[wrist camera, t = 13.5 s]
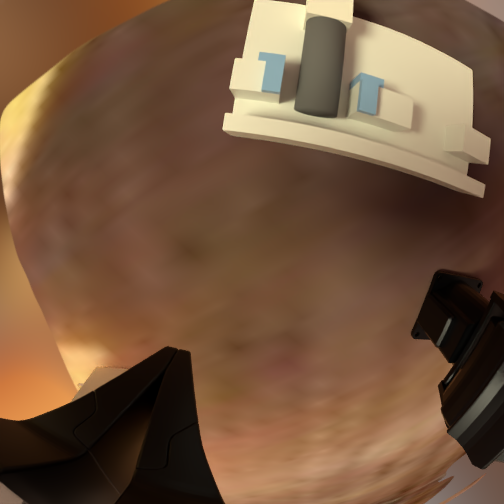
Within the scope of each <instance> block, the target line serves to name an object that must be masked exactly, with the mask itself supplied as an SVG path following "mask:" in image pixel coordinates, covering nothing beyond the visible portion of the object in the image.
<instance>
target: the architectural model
mask: <svg viewBox="0 0 504 504" xmlns="http://www.w3.org/2000/svg"><path fill="white" fill-rule="evenodd" d="M127 370H128V369H122V368H107V367H96V368H95V370H94V371H93V372H92V374H91V375H90V376H89V378H88V379H87V380H86V382H85V383H84V384H80V383H79V384H78V387H79V388H80V390H79V391H78V393H77V394H76V395H75V397H74V398H73V400H72V401H71V402H73V401H75V400H76V399H78V398H80V397H82V396H84V395H86V394H88V393H89V392H91V391H94V390H95V389H96V388H98V387H100V386H102V385H103V384H105V383H107V382H108V381H110V380H112V379H113V378H115V377H117V376H118V375H120V374H122V373H123V372H125V371H127ZM94 392H95V391H94Z"/></svg>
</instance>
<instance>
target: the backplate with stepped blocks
mask: <svg viewBox="0 0 504 504" xmlns="http://www.w3.org/2000/svg"><path fill="white" fill-rule="evenodd" d="M305 10H306V5H300V4H294V3H287V2H279V1H270V0H254V5H253V9H252V14H251V19H250V23H249V28H248V33H247V38H246V43H245V48H244V53H243V58H242V59H240V58H235V61H234V67H233V72H232V77H231V83H230V88H229V89H230V90H231V92H232V94H233V95H234V97H235V102H234V108H233V114H231V113H225V117H224V123H223V131H225V132H226V133H228V134H229V135H231V136H237V137H245V138H252V139H259V140H266V141H272V142H278V143H284V144H290V145H295V146H301V147H306V148H311V149H316V150H320V151H325V152H329V153H334V154H338V155H342V156H347V157H351V158H355V159H358V160H362V161H366V162H370V163H373V164H377V165H381V166H384V167H387V168H391V169H394V170H397V171H401V172H404V173H407V174H410V175H413V176H416V177H419V178H422V179H425V180H428V181H431V182H433V183H436V184H439V185H442V186H444V187H447V188H449V189H452V190H455V191H457V192H461V193H465V194H469V195H473V196H477V197H480V198H483V196H484V190H485V184H483V183H481V182H479V181H477V180H475V179H473V178H470V177H468V176H467V172H468V164H469V163H477V164H486V165H488V163H489V153H490V141H491V139H490V138H489V137H487V136H485V135H484V134H482V133H480V132H479V131H477V130H475V129H473V128H472V121H473V74H472V69H470V68H468V67H467V66H465V65H463V64H462V63H460V62H458V61H457V60H455V59H453V58H451V57H450V56H448V55H446V54H444V53H442V52H440V51H438V50H436V49H434V48H433V47H430V46H428V45H426V44H424V43H422V42H420V41H418V40H416V39H413V38H411V37H409V36H406V35H404V34H402V33H399V32H397V31H394V30H392V29H389V28H386V27H384V26H381V25H378V24H375V23H372V22H369V21H366V20H363V19H360V18H356V17H353V20H352V25H351V26H350V28H349V30H348V31H347V33H346V42H345V53H344V63H343V73H342V82H341V90H340V99H339V106H338V114H337V117H336V118H321V117H315V116H310V115H306V114H302V113H300V112H297V111H295V110H294V105H295V98H296V91H297V85H298V78H299V71H300V64H301V57H302V50H303V42H304V35H305V30H303V25H304V17H305Z"/></svg>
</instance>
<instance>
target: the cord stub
mask: <svg viewBox="0 0 504 504" xmlns="http://www.w3.org/2000/svg"><path fill="white" fill-rule="evenodd" d="M352 20H353V0H307V2H306V10H305V17H304V25H303V30H305V35H304V42H303V50H302V57H301V64H300V71H299V78H298V85H297V91H296V98H295V105H294V110H295V111H297V112H300V113H302V114H306V115H310V116H315V117H321V118H336V117H337V114H338V106H339V99H340V90H341V82H342V73H343V63H344V53H345V42H346V33H347V31H348V30H349V28H350V26H351V25H352Z"/></svg>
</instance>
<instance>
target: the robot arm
mask: <svg viewBox="0 0 504 504" xmlns="http://www.w3.org/2000/svg"><path fill="white" fill-rule="evenodd" d="M439 276H440V278H439V279H438V277H439ZM482 284H483V282H482V281H481V280H480V279H477V278H472V277H467V276H462V275H457V274H452V273H447V272H442V271H437V272H436V273H435V274H434V276H433V279H432V282H431V285H430V288H429V290H428V293H427V296H426V298H425V301H424V303H423V306H422V308H421V311H420V313H419V315H418V318H417V320H416V322H415V325H414V327H413V329H412V331H411V336H412V337H413V339H426V340H431V341H432V342H433V344H434V345H435V347H437V348H438V349H439V350H440V351H441V353H442V354H443V356H444V357H445V358H446V360H447V361H448V363H452V364H453V367H452V368H451V370H450V371H449V373H448V374H447V375H446V377H445V378H444V380H442V381H441V382H440V383H439V385H438V389H439V393H440V398H441V404H442V407H441V413H442V415H443V418H444V420H445V424H446V426H447V428H448V430H447V433H448V434H449V435H451V436H452V437H453V438H454V439H456V440H457V441H458V442H459V444H460V445H461V446H462V447H463V449H464V450H465V452H466V453H467V455H468V457H469V459H470V461H471V463H472V464H473V465H474V466H476V467H478V468H480V469H486V468H487V467H488V466H489V465H490V464H491V463H493V462H494V461H498V462H504V294H501V293H499V292H496V291H493V293H492V295H491V297H490V298H491V300H490V302H489V301H488V300H487V299H486V298H484V297H483V296H482V295H481V294H479V293H480V290H481V288H482ZM416 333H417V334H416ZM94 391H95V392H94ZM94 391H91V392H89V393H88V394H86V395H84V396H82V397H80V398H78V399H76V400H75V401H73V402H70V403H68V404H66V405H64V406H61V407H59V408H57V409H54V410H52V411H50V412H47V413H44V414H42V415H39V416H37V417H34V418H31V419H27V420H21V421H15V420H8V419H3V418H0V504H225V503H224V501H223V499H222V497H221V494H220V492H219V490H218V487H217V485H216V482H215V480H214V477H213V475H212V472H211V470H210V467H209V464H208V462H207V459H206V455H205V452H204V449H203V446H202V441H201V436H200V430H199V424H198V416H197V408H196V400H195V392H194V383H193V373H192V363H191V353H190V351H186V350H182V349H179V350H178V349H177V348H173V347H169V346H166V347H164V348H163V349H161V350H160V351H158V352H156V353H155V354H153V355H151V356H150V357H148V358H147V359H145V360H143V361H142V362H140V363H138V364H137V365H135V366H133V367H132V368H130V369H128V370H127V371H125V372H123V373H122V374H120V375H118V376H117V377H115V378H113V379H112V380H110V381H108V382H107V383H105V384H103V385H102V386H100V387H98V388H96V389H95V390H94Z"/></svg>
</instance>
